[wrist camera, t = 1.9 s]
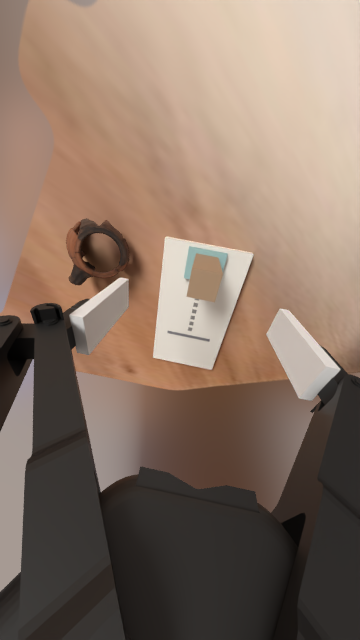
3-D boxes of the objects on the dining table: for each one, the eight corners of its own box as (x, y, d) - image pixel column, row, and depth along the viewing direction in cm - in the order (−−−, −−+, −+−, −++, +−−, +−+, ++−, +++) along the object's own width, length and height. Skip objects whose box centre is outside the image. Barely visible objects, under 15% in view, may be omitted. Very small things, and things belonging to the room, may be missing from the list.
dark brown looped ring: (83, 201, 28) (81, 203, 22) (134, 238, 34) (144, 247, 28) (53, 264, 31) (44, 282, 25) (105, 288, 37) (108, 307, 31)
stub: (227, 253, 27) (236, 269, 19) (218, 283, 30) (223, 309, 21) (189, 246, 27) (181, 259, 19) (184, 277, 30) (175, 300, 22)
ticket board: (251, 252, 28) (253, 254, 27) (211, 365, 42) (211, 370, 41) (167, 236, 29) (165, 237, 27) (154, 353, 42) (152, 357, 41)
